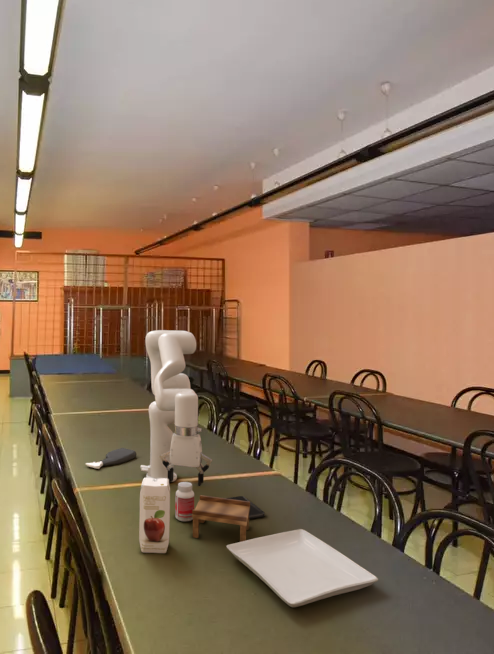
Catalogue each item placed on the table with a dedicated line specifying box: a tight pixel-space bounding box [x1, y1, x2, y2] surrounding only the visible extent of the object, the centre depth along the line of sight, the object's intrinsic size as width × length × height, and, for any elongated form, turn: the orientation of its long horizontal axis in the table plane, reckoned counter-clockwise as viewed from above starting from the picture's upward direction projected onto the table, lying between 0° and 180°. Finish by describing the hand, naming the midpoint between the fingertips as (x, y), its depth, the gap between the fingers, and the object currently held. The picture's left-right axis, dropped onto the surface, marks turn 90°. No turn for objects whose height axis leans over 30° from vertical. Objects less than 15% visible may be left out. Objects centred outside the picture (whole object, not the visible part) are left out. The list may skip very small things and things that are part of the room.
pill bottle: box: [174, 481, 195, 523], centre depth 147 cm, size 6×6×11 cm
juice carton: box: [138, 476, 171, 554], centre depth 128 cm, size 8×9×19 cm
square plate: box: [225, 528, 379, 608], centre depth 116 cm, size 27×27×4 cm
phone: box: [225, 495, 266, 520], centre depth 155 cm, size 8×1×15 cm
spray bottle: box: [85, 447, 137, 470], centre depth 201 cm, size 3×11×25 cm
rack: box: [192, 494, 251, 542], centre depth 138 cm, size 16×12×8 cm
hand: (185, 483), depth 147 cm, fingers open, 9 cm apart
